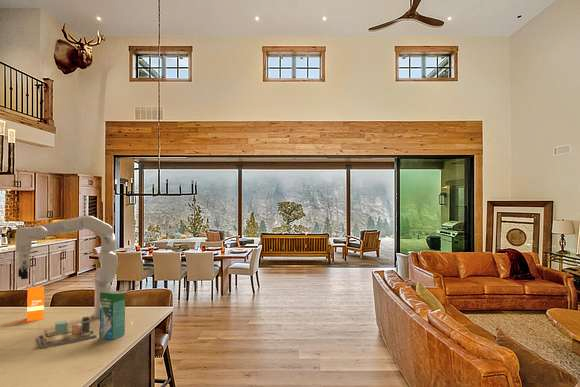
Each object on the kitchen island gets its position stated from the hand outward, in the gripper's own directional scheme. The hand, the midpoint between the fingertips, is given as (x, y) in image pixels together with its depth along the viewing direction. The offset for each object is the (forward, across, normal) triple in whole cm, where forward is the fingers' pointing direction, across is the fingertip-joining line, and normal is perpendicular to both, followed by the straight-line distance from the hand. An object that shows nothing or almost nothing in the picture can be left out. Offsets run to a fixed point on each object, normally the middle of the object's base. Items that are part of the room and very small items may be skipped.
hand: (23, 277), depth 216 cm
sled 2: (+30, -37, -15) cm, 50 cm away
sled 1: (+30, -28, -17) cm, 45 cm away
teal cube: (+28, -28, -14) cm, 42 cm away
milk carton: (+31, -47, -35) cm, 66 cm away
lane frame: (+30, -32, -16) cm, 47 cm away
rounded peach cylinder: (+28, -37, -19) cm, 50 cm away
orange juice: (+31, +21, -10) cm, 38 cm away
